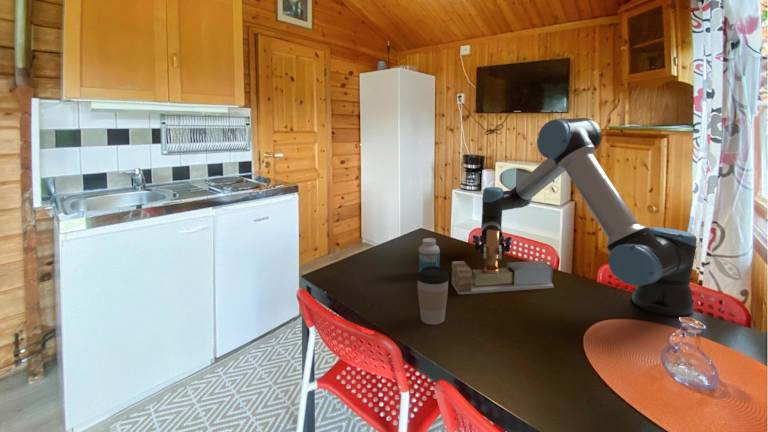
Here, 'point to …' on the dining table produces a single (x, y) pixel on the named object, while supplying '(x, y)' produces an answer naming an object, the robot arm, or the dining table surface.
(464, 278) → the socket
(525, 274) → the sleeve
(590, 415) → the dining table surface
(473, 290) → the bed
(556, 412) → the dining table surface
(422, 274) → the coffee cup
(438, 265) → the pill bottle
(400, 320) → the dining table surface
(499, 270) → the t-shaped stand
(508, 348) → the dining table surface
